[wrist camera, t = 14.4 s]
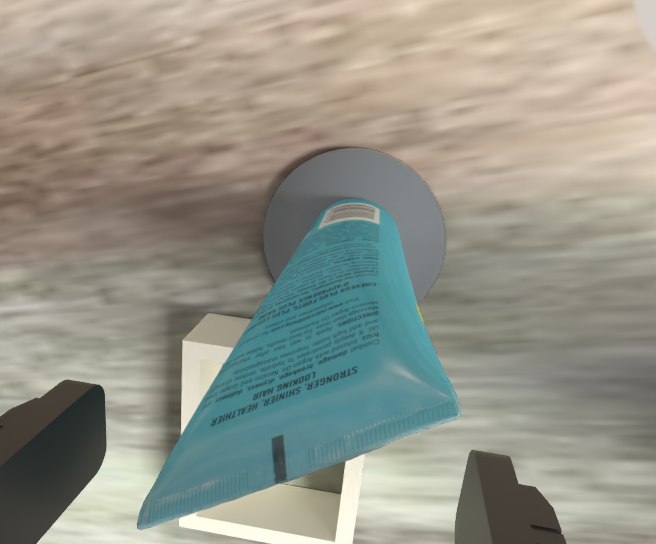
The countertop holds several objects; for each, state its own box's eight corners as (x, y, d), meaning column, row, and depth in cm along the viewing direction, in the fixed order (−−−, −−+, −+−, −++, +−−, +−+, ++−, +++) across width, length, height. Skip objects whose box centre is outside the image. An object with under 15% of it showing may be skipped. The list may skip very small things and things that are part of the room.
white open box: (380, 338, 31) (377, 370, 27) (355, 509, 35) (350, 558, 31) (208, 313, 32) (182, 340, 28) (202, 482, 36) (179, 526, 32)
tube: (322, 308, 30) (201, 614, 12) (276, 237, 29) (68, 448, 11) (439, 244, 28) (509, 494, 10) (393, 166, 27) (377, 280, 9)
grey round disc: (459, 158, 27) (461, 160, 27) (428, 333, 30) (429, 339, 30) (272, 137, 28) (269, 138, 28) (261, 309, 31) (257, 313, 31)
